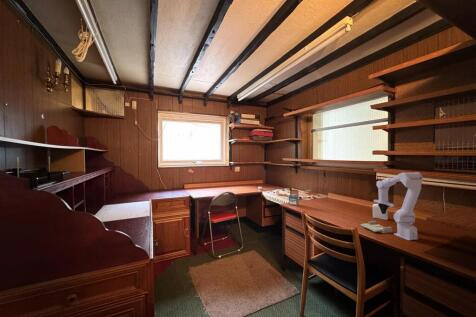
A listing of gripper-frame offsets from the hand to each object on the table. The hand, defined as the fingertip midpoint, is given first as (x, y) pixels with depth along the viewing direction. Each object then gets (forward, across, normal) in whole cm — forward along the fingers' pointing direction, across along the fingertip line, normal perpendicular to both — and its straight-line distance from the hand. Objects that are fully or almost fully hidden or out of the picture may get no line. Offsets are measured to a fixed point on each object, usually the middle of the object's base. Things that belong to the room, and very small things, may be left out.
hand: (383, 213), depth 141 cm
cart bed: (+9, +4, -9) cm, 14 cm away
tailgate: (+8, +4, -13) cm, 16 cm away
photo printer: (+10, -14, +12) cm, 21 cm away
